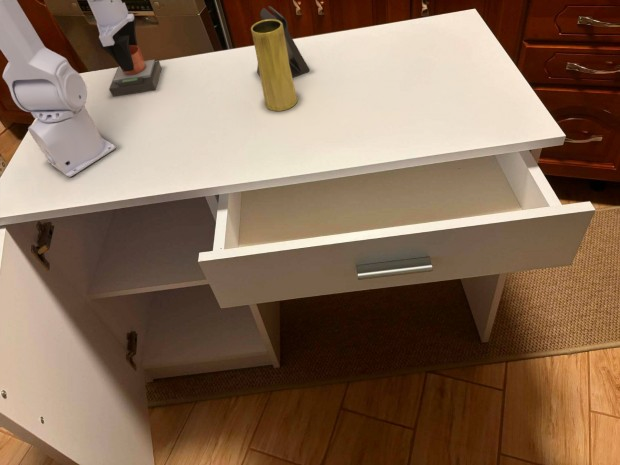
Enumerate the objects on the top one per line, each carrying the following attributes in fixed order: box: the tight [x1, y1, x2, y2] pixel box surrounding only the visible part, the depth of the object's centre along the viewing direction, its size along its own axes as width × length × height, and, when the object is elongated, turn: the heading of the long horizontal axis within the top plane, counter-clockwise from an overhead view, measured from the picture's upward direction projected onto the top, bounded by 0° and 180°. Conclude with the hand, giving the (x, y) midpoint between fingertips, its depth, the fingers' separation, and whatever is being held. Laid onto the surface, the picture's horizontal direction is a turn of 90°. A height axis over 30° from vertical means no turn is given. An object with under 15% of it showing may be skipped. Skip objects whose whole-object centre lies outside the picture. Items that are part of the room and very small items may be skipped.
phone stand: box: [256, 5, 310, 79], centre depth 91 cm, size 9×6×12 cm, turn 115°
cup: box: [120, 45, 146, 75], centre depth 98 cm, size 5×5×4 cm
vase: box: [250, 19, 299, 112], centre depth 83 cm, size 6×6×14 cm
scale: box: [108, 59, 163, 97], centre depth 99 cm, size 9×9×3 cm
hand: (131, 63), depth 98 cm, fingers closed on cup, 5 cm apart
